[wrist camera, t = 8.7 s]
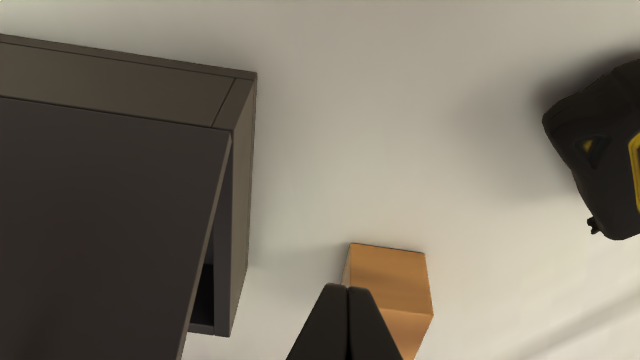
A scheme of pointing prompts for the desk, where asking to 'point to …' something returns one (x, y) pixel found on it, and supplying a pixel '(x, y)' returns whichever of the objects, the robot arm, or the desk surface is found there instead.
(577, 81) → the desk surface
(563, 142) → the tape measure
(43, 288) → the lid
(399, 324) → the orange-brown cube
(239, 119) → the dark grey box
